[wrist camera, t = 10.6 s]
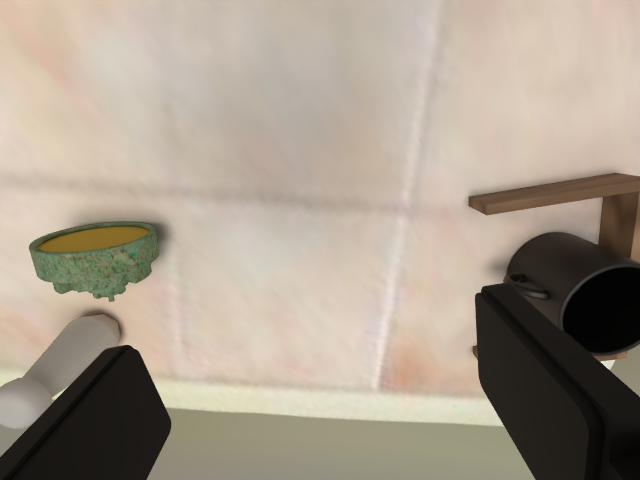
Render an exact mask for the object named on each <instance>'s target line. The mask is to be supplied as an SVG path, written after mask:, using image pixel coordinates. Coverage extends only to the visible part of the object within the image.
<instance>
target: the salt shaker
mask: <svg viewBox="0 0 640 480" xmlns="http://www.w3.org/2000/svg"><path fill="white" fill-rule="evenodd" d="M119 338H120V331H119V326H118V322H117V321H115V320H114V319H112V318H110V317H109V316H107V315H105V314H100V315H94V316H85V317H81V318H79V319H76V320H74V321H72V322H70V323H69V324H68V325H67V326H66V328H65V329H64V330H63V331H62V332H61V333H60V334H59V336H58V337H57V338H56V339H55V340H54V341H53V343H52V344H51V345H50V346H49V347H48V348H47V350H46V351H45V352H44V353H43V354H42V355H41V357H40V358H39V359H38V360H37V361H36V362H35V363H34V365H33V366H32V367H31V368H30V369H29V370H28V372H27V373H26V374H25V375H24V376H23V377H22V378H17V379H15V380H13V381H10V382H8V383H6V384H4V385H3V386H2V387H0V424H1V425H3V426H6V427H9V428H26V427H28V426H30V425H32V424H33V423H34V422H35V421H36V420H37V419H38V418H39V417H40V416H41V415H42V414H43V413H44V411H45V410H46V409H47V408H48V407H49V406H50V405H51V404H52V397H53V396H55V395H56V394H58V393H59V392H60V391H62V390H63V389H65V388H66V387H68V386H69V385H70V384H72V382H73V381H74V380H75V379H76V378H77V377H78V376H79V375H80V374H81V373H82V372H83V371H84V370H85V369H86V368H87V367H88V366H89V365H90V364H91V363H92V362H93V361H94V360H95V359H96V358H97V357H98V356H99V355H100V353H101V352H102V351H104V350H105V349H107V348H111V347H117V345H118V341H119Z"/></svg>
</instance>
